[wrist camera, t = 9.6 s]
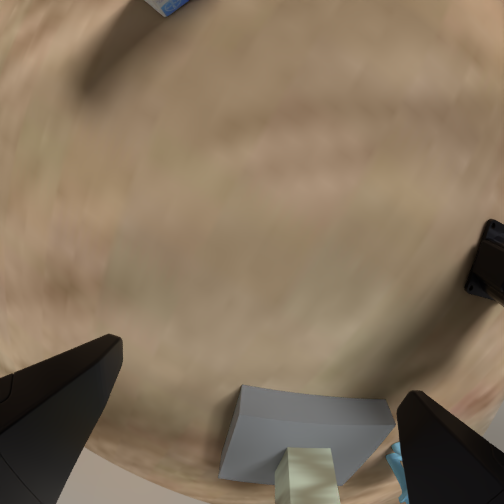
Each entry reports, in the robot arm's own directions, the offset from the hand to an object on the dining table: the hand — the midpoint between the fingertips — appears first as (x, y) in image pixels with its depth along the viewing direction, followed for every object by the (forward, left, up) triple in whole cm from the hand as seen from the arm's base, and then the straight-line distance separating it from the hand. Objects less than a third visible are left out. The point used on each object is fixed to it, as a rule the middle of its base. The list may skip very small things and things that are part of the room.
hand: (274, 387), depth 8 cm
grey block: (-8, +18, -13) cm, 24 cm away
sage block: (-8, +18, -9) cm, 22 cm away
